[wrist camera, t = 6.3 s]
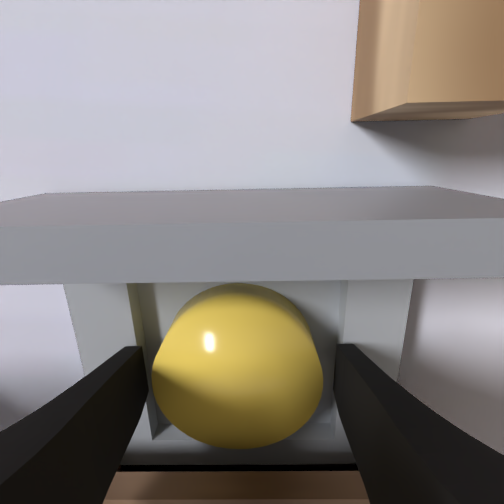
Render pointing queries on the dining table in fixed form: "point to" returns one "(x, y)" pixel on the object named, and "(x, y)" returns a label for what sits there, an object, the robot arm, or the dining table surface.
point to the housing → (237, 487)
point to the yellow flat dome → (238, 368)
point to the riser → (428, 60)
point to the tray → (248, 278)
